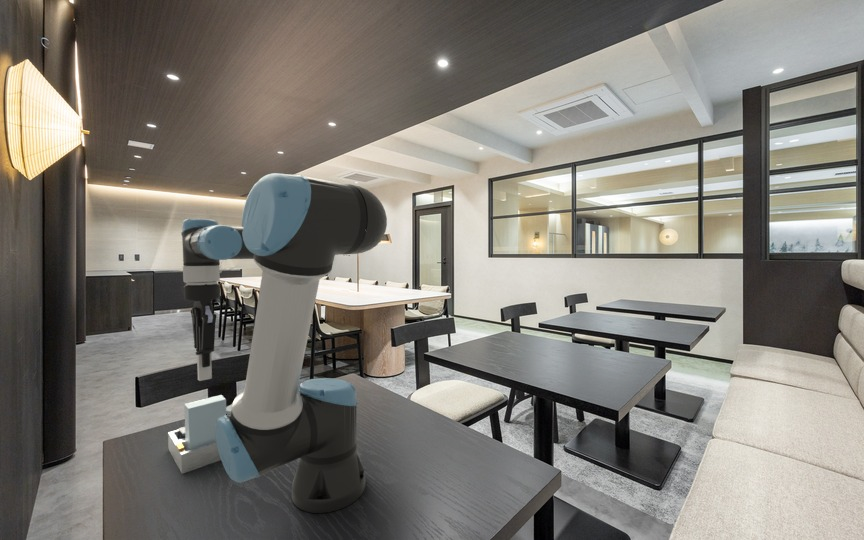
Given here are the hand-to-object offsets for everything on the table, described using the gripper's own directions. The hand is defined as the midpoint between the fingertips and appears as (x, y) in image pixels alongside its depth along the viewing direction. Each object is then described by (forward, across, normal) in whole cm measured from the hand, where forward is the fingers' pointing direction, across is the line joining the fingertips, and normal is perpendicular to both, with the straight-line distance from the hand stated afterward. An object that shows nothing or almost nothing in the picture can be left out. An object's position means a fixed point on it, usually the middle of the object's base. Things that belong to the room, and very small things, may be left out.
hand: (204, 378), depth 90 cm
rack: (+20, +4, 0) cm, 20 cm away
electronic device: (+21, +21, -21) cm, 36 cm away
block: (+18, 0, 0) cm, 18 cm away
